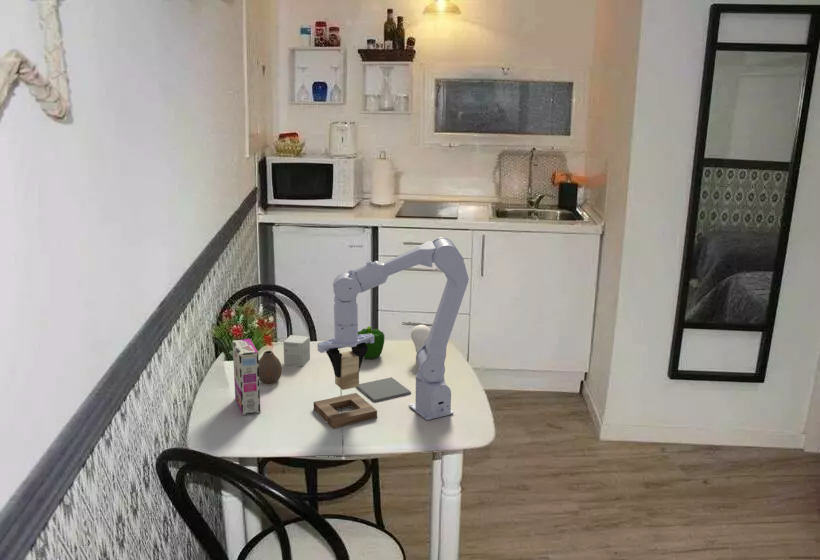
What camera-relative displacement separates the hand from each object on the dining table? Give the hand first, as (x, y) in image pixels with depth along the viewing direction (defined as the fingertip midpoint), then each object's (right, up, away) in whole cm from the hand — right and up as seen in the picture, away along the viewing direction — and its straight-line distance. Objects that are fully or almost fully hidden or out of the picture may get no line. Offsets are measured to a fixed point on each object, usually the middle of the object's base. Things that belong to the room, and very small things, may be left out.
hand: (346, 374), depth 187 cm
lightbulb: (+19, -1, +37) cm, 42 cm away
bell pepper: (+4, 0, +40) cm, 40 cm away
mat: (+9, -6, +16) cm, 19 cm away
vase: (-23, -5, +21) cm, 31 cm away
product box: (-18, -1, +35) cm, 39 cm away
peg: (0, -3, +1) cm, 3 cm away
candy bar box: (-26, -9, +6) cm, 28 cm away
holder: (-1, -10, +2) cm, 10 cm away
